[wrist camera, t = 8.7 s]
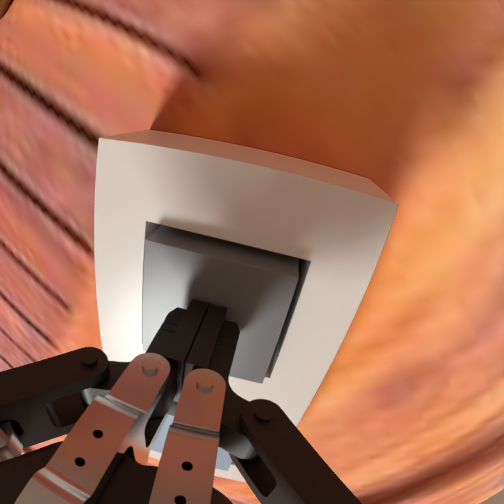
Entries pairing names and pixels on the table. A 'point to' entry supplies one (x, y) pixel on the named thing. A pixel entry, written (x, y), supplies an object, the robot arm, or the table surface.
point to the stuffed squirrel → (4, 6)
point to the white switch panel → (244, 232)
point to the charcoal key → (220, 290)
